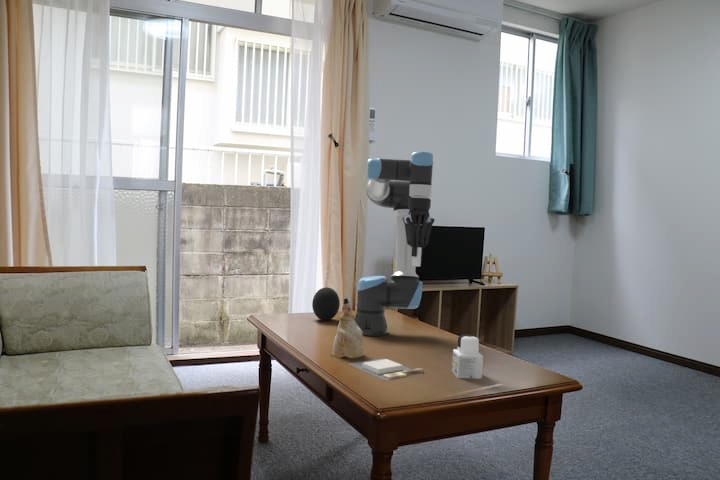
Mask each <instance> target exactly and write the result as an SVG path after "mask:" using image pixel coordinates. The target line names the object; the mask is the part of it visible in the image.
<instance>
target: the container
mask: <svg viewBox="0 0 720 480" xmlns="http://www.w3.org/2000/svg"><path fill="white" fill-rule="evenodd" d="M479 349H480V338H479V337H478V336H476V335H474V334H461V335H459V336H458V337H457V348H456V349H455V348H454V349H452V359H451V361H452V363H451V372H452V373H453V374H454V375H455V377H456V378H457V379H479V380H480V379H481V380H482V379H483V367H484V364H483V363H484V355H483V354H481V353H480V352H479Z"/></svg>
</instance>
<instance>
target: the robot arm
mask: <svg viewBox="0 0 720 480" xmlns="http://www.w3.org/2000/svg"><path fill="white" fill-rule="evenodd" d="M366 163H367V164H366V165H367V167H366V177H367V179H368V180H369V182H368V183H367V185H366V191H365V192H366V195H367V197H368V199H369V200H370V201H371V202H372V203H373V204H375V205H376V206H378V207H381V208H387V209H388V208H389V209H393V214H394V215H395V216H396V232H395V233H396V234H395V259H394V260H395V262H394V264H395V265H394V272H393V273H392V274H391V275H390V279H387V277H386V276H384V275H373V276H372V275H371V276H363V277H361V278H360V279H359V280H358V283H357V289H356V291H357V296H356V297H357V299H356V314H355V318H354V320H355V322H356V324H357V325H358V327H359V328H360V329H361V331H362V333H363V336H367V337H369V336H371V337H375V336H376V337H378V336H384V335H387V334H388V331H389V330H388V329H389V326H388V324H387V319H386V316H385V309H403V310H409V309H410V310H412V309H413V310H415V309H418V307H419V306H420V302H421V300H422V294H423V281H421V280H420V277H419V275H418V274H417V273H416V268H417V267H421V266H422V265H421V264H422V257H423V250H424V248H426V246H428V244H429V241H430V235H431V231H432V226H433V224H434V222H435V218H433V217H431V216H430V209H431V205H432V204H431V203H432V200H431V197H432V186H433V185H432V180H433V168H434V167H433V166H434V155H433V153H432V152H429V151H414V152H412V153H411V156H410V159H394V158H393V159H391V158H390V159H389V158H379V157H376V158H369V159H367V162H366Z"/></svg>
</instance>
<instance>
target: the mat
mask: <svg viewBox="0 0 720 480" xmlns="http://www.w3.org/2000/svg"><path fill="white" fill-rule="evenodd" d="M384 359H385V358H384V357H383V358H376V359H370V360H364V361H355V362H351V363H348V365H349V366H351V367H354V368H356V369H359V370H361V371H363V372H365V373H367V374H370V375H372V376H374V377H377V378H379V379H381V380H383V381H392V380H398V379H403V378H408V377H409V378H410V377H414V376H418V375H424V372H421V373H416V374H410V375H407V376H405V377H399V378H394V379H387V378H385V377H383V375H384V374H390V373H396V372H401V371H405V370H411V369H412V368H409V367H407V366H405V365H403V370H400V371H394V372H388V373H383V374H376V373H373V372H371V371H369V370H367V369H364V368H362V363H364V362H371V361H377V360H384Z"/></svg>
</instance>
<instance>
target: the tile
mask: <svg viewBox="0 0 720 480" xmlns="http://www.w3.org/2000/svg"><path fill="white" fill-rule="evenodd" d="M403 366H404V365H403V364H402V363H401V364H400V363H398V362H396V361H394V360H391V359H388V358H384V360H377V361H371V362H364V363H362V368H364V369H367V370H369V371H371V372H373V373H376V374H383V373H388V372H394V371H400V370H403Z"/></svg>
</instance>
